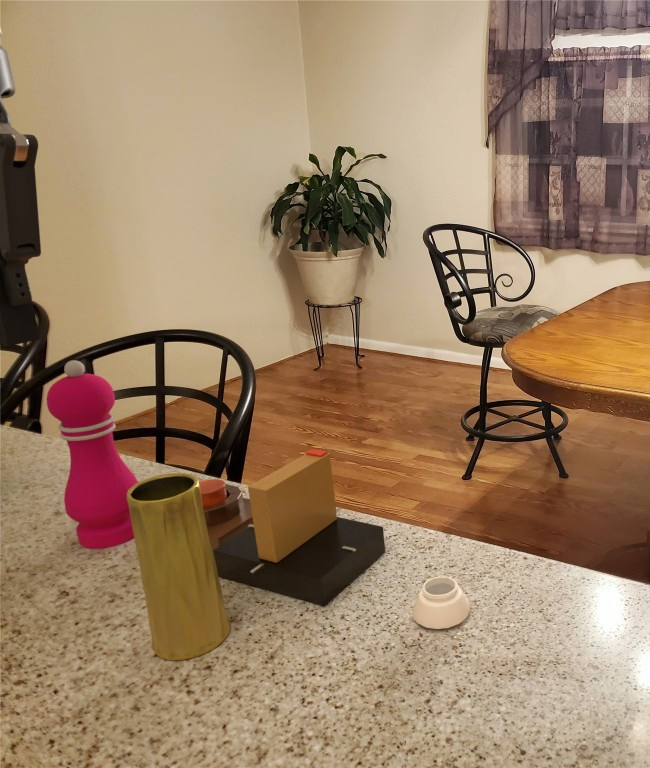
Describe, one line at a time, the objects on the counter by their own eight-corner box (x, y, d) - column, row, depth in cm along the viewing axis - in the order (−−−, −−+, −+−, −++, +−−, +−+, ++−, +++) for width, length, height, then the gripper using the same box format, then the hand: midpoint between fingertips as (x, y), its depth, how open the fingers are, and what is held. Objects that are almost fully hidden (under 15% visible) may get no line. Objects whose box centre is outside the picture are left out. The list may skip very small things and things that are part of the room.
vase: (181, 672, 55) (148, 512, 50) (137, 646, 58) (103, 493, 53) (245, 629, 60) (220, 480, 55) (202, 607, 63) (175, 464, 58)
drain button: (184, 505, 74) (181, 490, 74) (210, 491, 78) (208, 476, 77) (209, 510, 73) (206, 495, 72) (234, 496, 76) (232, 481, 76)
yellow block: (276, 563, 64) (265, 488, 62) (258, 558, 65) (247, 484, 62) (337, 519, 72) (329, 450, 69) (320, 515, 73) (312, 447, 70)
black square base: (313, 617, 61) (309, 587, 60) (203, 586, 66) (198, 557, 65) (394, 544, 72) (392, 518, 71) (295, 522, 78) (292, 497, 77)
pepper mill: (58, 544, 74) (13, 367, 68) (117, 514, 80) (80, 349, 74) (106, 557, 71) (63, 373, 65) (163, 524, 78) (128, 354, 72)
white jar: (427, 640, 58) (479, 619, 60) (425, 610, 57) (478, 591, 59) (404, 609, 62) (454, 591, 64) (402, 581, 61) (452, 564, 63)
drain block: (152, 538, 75) (145, 505, 74) (209, 506, 82) (204, 475, 81) (221, 556, 71) (215, 522, 70) (275, 521, 78) (270, 489, 77)
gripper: (50, 39, 53) (111, 337, 60) (-52, 53, 58) (16, 327, 65) (-60, 22, 46) (24, 359, 53) (-164, 40, 51) (-75, 346, 58)
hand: (19, 341), depth 59 cm, fingers closed
